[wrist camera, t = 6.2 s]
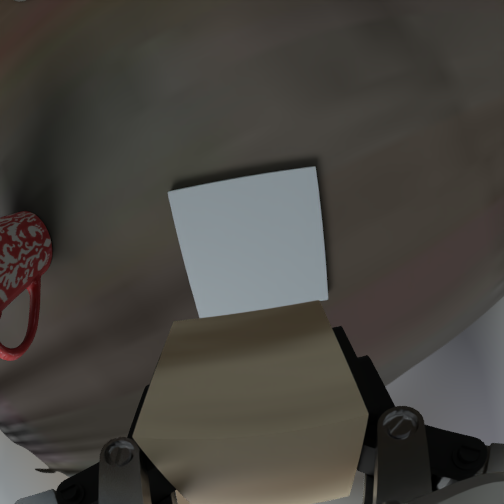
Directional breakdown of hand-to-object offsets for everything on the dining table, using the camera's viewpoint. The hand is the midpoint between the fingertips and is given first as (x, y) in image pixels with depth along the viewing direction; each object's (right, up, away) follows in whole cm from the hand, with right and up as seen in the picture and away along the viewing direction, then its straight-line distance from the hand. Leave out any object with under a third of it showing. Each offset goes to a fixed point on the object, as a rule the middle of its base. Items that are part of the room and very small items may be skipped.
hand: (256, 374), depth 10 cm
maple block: (0, 0, 0) cm, 0 cm away
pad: (0, +5, +15) cm, 16 cm away
